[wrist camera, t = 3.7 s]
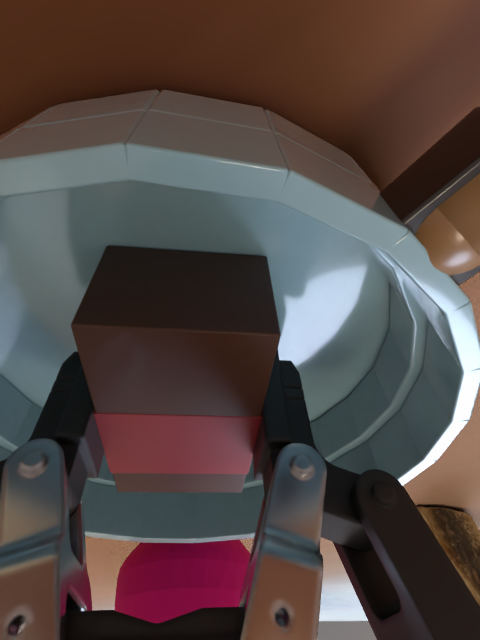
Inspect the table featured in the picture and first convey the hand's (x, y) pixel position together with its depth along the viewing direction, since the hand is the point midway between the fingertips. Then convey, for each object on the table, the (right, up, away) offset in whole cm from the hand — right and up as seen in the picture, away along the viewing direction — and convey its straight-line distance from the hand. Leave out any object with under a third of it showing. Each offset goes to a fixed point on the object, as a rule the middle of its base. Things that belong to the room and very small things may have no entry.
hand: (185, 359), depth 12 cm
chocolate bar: (0, 0, 0) cm, 0 cm away
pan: (0, +1, +1) cm, 1 cm away
